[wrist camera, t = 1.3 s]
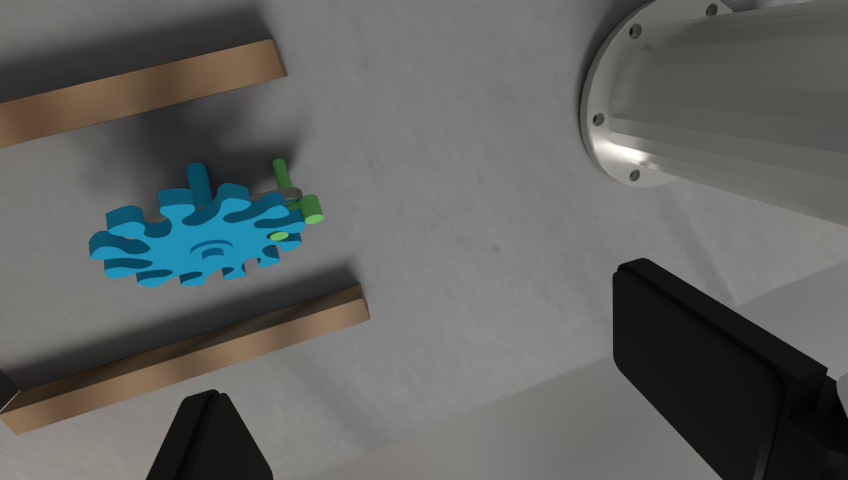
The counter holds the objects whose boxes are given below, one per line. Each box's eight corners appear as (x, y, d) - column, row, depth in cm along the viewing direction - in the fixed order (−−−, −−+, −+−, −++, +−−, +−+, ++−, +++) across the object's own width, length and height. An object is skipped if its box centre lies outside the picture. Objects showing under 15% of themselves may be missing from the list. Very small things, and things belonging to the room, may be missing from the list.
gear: (152, 310, 24) (32, 249, 15) (141, 226, 26) (28, 127, 17) (331, 260, 27) (319, 184, 18) (310, 188, 29) (289, 87, 20)
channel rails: (275, 41, 22) (271, 38, 20) (367, 304, 29) (370, 319, 28) (-197, 154, 19) (-250, 163, 17) (37, 410, 27) (16, 435, 25)
